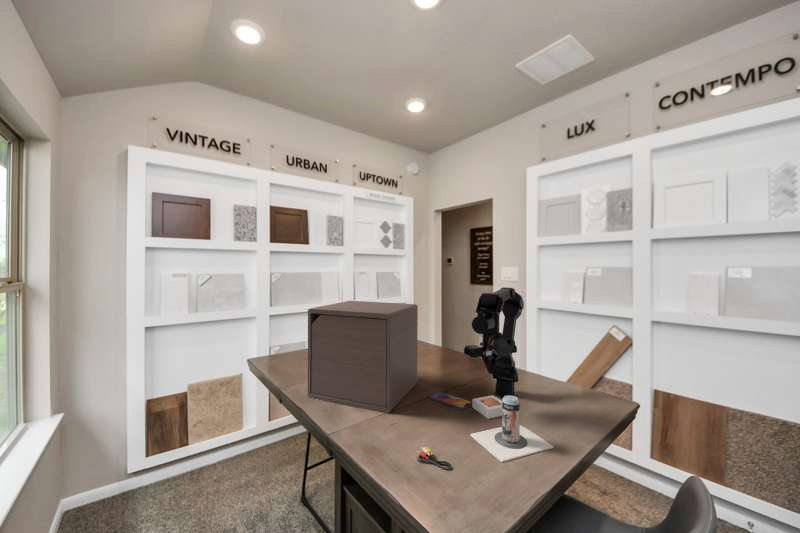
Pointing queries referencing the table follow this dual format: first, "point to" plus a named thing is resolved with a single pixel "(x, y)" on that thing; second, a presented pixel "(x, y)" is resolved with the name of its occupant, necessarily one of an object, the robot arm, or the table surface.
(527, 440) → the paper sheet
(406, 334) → the storage cube
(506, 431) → the beer can
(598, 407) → the table surface
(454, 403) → the smartphone
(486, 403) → the button
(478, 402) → the button housing
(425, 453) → the composite cable
